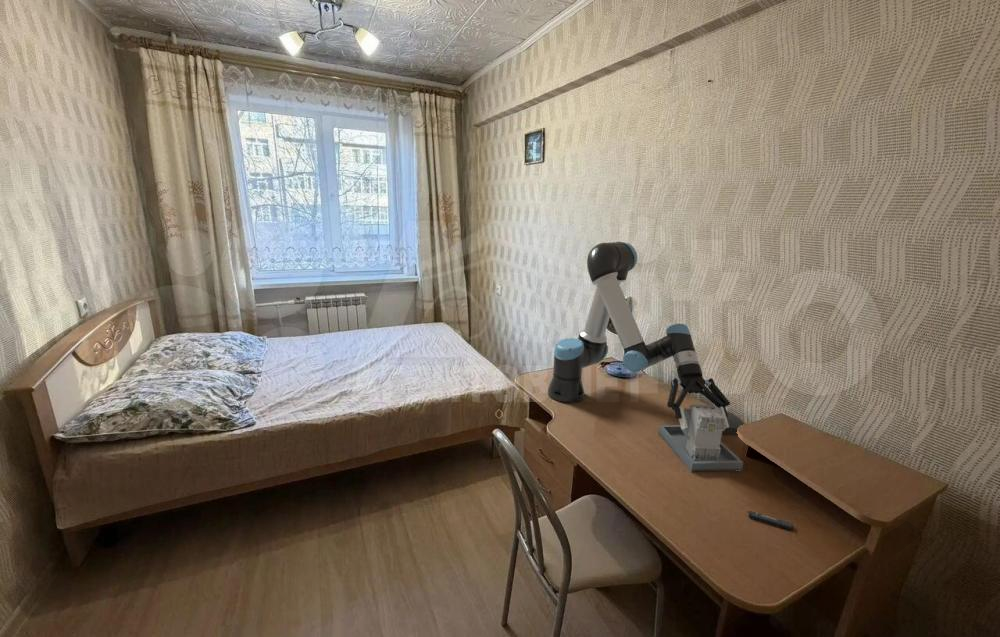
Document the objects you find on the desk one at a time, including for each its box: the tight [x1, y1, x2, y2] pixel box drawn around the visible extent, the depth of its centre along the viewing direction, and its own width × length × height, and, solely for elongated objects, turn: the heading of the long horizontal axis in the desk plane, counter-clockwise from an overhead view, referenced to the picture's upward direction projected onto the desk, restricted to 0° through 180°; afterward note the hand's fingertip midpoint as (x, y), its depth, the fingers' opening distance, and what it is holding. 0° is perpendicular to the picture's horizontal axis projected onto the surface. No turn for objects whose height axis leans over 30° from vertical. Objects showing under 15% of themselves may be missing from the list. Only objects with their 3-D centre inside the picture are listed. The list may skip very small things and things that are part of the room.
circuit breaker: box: [682, 404, 726, 461], centre depth 131 cm, size 8×14×15 cm, turn 176°
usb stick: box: [747, 510, 794, 532], centre depth 103 cm, size 10×3×2 cm, turn 64°
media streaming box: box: [722, 411, 745, 435], centre depth 150 cm, size 15×15×3 cm
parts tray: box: [658, 424, 744, 473], centre depth 133 cm, size 22×16×3 cm
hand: (705, 428), depth 128 cm, fingers open, 13 cm apart
